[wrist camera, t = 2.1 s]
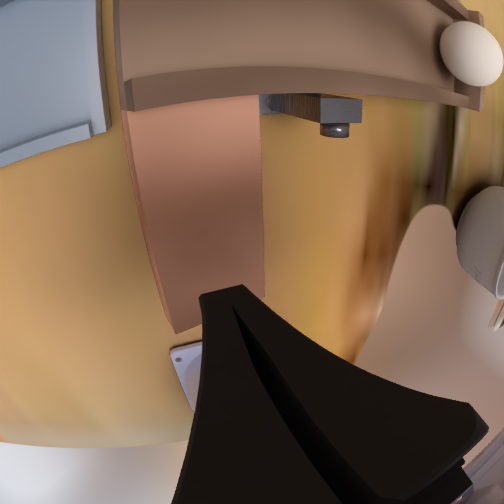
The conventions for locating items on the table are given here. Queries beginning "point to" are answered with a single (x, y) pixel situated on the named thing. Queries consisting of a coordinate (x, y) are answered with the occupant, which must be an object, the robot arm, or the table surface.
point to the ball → (471, 53)
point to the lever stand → (316, 110)
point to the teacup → (483, 239)
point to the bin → (50, 75)
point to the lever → (249, 112)
